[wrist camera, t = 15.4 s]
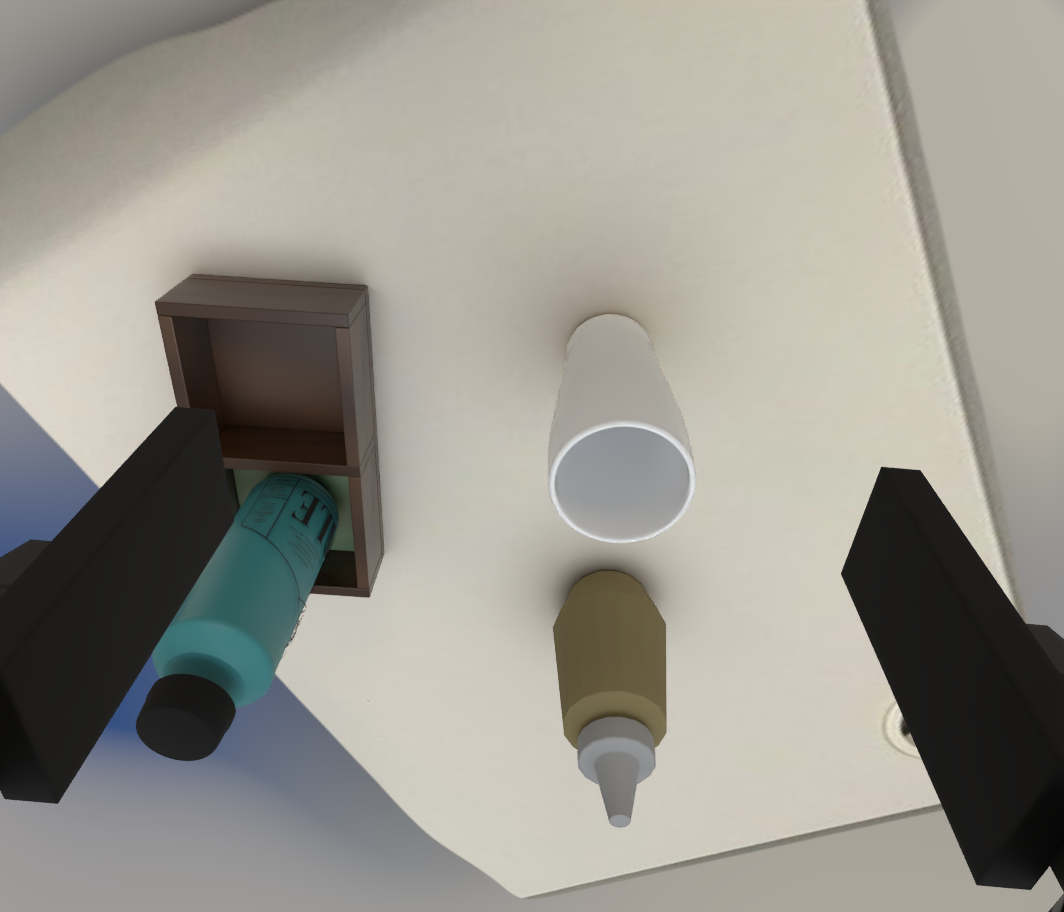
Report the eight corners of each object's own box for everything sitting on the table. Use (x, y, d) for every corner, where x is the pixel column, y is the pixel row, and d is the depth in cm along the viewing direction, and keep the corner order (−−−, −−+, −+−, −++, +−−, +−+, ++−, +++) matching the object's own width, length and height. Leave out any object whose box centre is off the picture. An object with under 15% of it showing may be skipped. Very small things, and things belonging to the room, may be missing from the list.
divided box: (191, 273, 46) (153, 301, 42) (368, 285, 46) (347, 314, 41) (241, 543, 56) (215, 587, 52) (384, 553, 56) (369, 598, 52)
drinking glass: (560, 292, 45) (555, 411, 32) (674, 305, 45) (713, 428, 32) (548, 394, 49) (539, 538, 36) (653, 406, 49) (682, 553, 36)
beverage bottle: (237, 500, 53) (77, 742, 36) (286, 438, 50) (139, 669, 33) (316, 550, 55) (201, 802, 38) (368, 494, 52) (269, 738, 35)
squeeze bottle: (534, 612, 58) (520, 834, 43) (588, 540, 55) (594, 755, 39) (624, 651, 60) (641, 878, 45) (683, 584, 56) (723, 807, 41)
